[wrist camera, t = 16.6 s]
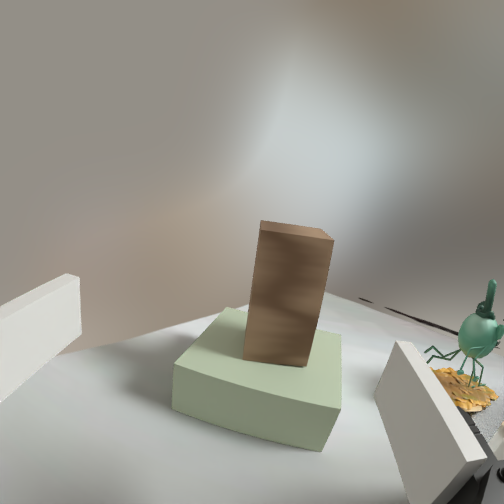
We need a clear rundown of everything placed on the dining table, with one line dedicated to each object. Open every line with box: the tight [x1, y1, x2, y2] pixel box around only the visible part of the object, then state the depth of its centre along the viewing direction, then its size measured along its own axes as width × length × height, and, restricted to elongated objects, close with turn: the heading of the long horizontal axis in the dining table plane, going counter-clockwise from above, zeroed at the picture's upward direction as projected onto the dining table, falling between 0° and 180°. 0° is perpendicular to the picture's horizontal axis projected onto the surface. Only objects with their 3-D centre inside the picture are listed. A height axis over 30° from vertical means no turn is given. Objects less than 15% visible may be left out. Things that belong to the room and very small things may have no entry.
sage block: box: [172, 307, 341, 452], centre depth 26 cm, size 12×12×5 cm
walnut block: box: [243, 220, 334, 367], centre depth 24 cm, size 5×5×10 cm
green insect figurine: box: [424, 279, 504, 412], centre depth 26 cm, size 10×18×15 cm, turn 82°
